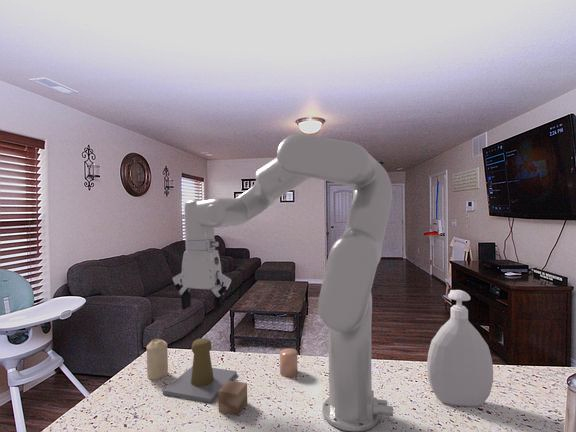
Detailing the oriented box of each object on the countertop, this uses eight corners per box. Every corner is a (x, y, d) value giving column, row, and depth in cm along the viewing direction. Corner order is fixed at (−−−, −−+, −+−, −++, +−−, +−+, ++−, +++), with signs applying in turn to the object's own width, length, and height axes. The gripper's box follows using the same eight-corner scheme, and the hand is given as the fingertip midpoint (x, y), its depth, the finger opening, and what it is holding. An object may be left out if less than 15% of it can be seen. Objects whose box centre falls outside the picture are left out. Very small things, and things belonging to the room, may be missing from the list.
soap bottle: (484, 393, 82) (484, 286, 81) (499, 413, 74) (498, 294, 73) (423, 388, 84) (422, 284, 84) (430, 407, 76) (429, 292, 76)
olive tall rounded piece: (207, 387, 84) (206, 345, 84) (186, 385, 86) (185, 344, 85) (217, 375, 90) (216, 336, 90) (197, 373, 92) (196, 335, 91)
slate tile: (236, 374, 93) (236, 371, 93) (211, 403, 79) (211, 399, 79) (194, 368, 97) (193, 365, 97) (162, 394, 84) (162, 390, 83)
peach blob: (299, 369, 95) (299, 349, 95) (294, 378, 90) (294, 357, 90) (283, 367, 96) (282, 347, 96) (277, 376, 92) (277, 355, 92)
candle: (172, 373, 94) (171, 338, 94) (155, 381, 90) (154, 345, 89) (160, 368, 97) (159, 335, 97) (143, 376, 93) (142, 341, 92)
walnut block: (247, 403, 79) (247, 383, 79) (238, 416, 74) (237, 394, 74) (228, 400, 81) (228, 380, 81) (218, 412, 76) (218, 391, 76)
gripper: (235, 244, 88) (237, 307, 89) (181, 244, 94) (182, 303, 94) (222, 248, 81) (224, 316, 82) (163, 247, 86) (165, 311, 87)
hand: (202, 309), depth 88 cm, fingers open, 9 cm apart
